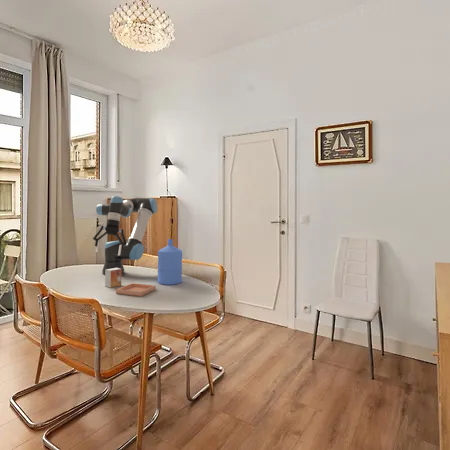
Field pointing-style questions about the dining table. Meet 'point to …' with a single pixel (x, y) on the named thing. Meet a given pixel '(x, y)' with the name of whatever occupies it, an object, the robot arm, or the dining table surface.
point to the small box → (113, 277)
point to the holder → (136, 289)
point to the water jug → (169, 265)
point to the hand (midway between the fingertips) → (108, 253)
